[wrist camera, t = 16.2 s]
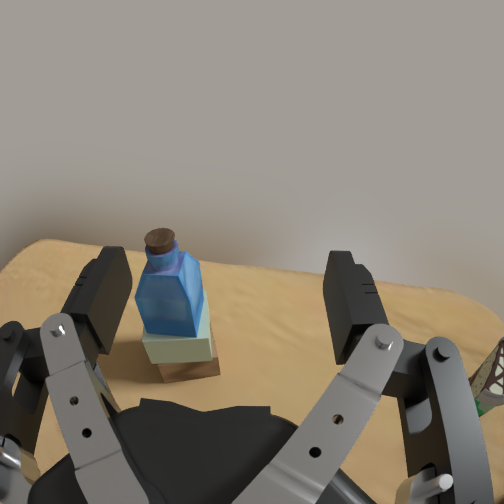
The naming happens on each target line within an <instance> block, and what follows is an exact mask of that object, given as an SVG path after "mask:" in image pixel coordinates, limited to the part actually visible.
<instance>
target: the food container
mask: <svg viewBox="0 0 504 504" xmlns="http://www.w3.org/2000/svg"><path fill="white" fill-rule="evenodd" d="M469 384H470V387H471V391H472V394H473V397H474V401H475V405H476V408H477V412H478V416H479V417H480V416H482V415H483V414H485V413H486V412H488V411H489V410H491V409H492V408H494V407H495V406H500V405H503V404H504V337H502V338H501V339H500V341H499V342H498V344H497V346H496V347H495V348H494V350H493V351H492V352H491V354H490V355H489V356H488V357H487V359H486V360H485V361H484V362H483V364H482V365H481V366H480V367H479V368H478V370H477V371H476V372H475V373H474V374H473V375H472V377H471V379H470V381H469Z"/></svg>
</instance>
